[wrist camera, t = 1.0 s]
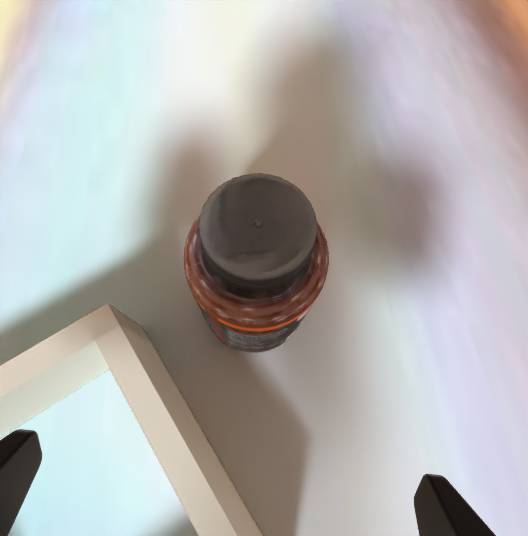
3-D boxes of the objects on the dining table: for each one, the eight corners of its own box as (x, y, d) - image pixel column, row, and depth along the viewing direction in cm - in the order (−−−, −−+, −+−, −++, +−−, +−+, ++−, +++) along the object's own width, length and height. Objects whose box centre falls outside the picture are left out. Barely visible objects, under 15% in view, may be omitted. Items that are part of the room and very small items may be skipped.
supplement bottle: (319, 326, 23) (383, 264, 12) (230, 372, 22) (213, 347, 11) (274, 245, 24) (295, 126, 14) (189, 283, 23) (141, 186, 13)
